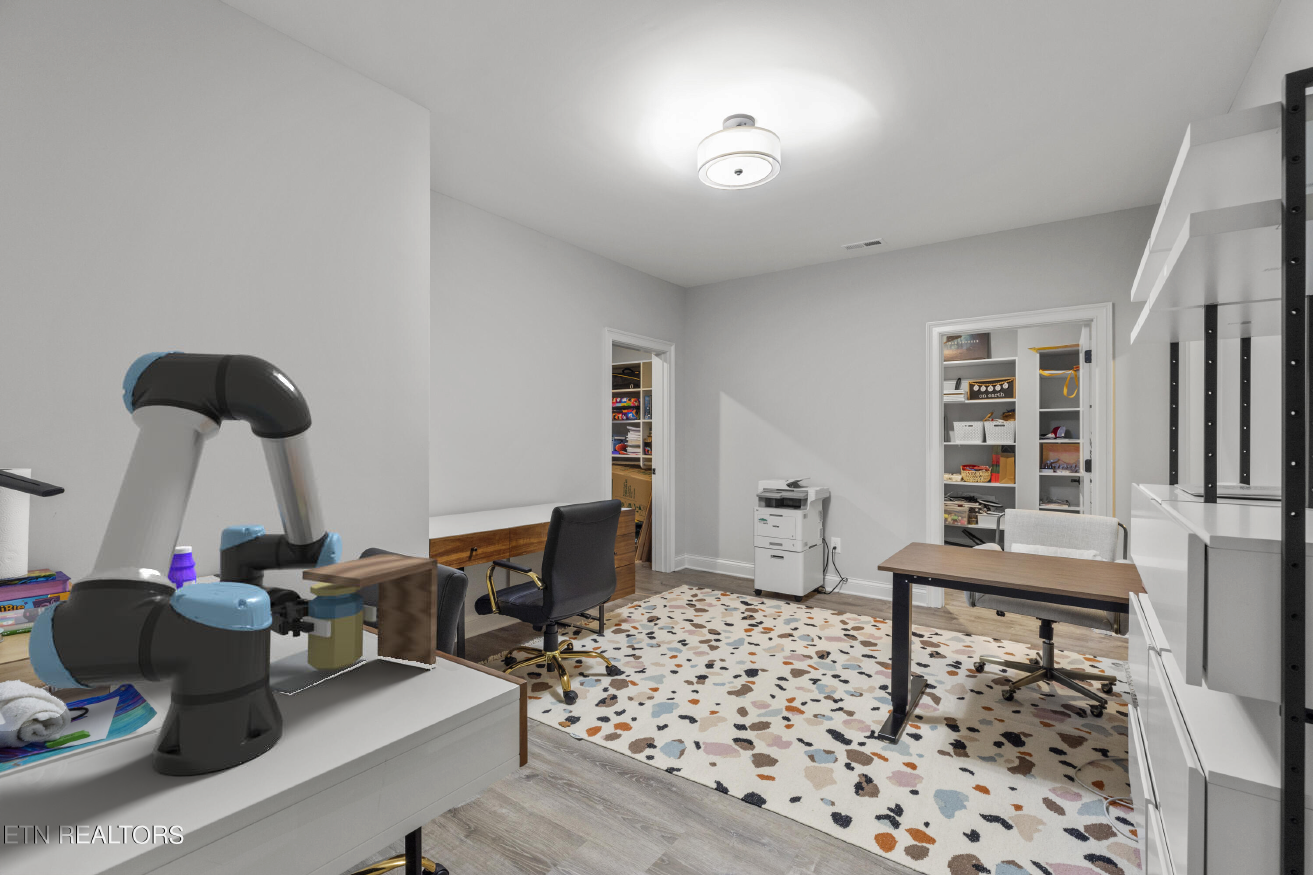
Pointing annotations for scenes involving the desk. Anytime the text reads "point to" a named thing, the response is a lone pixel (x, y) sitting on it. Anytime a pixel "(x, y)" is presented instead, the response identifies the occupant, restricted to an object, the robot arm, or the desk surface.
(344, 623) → the jar
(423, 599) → the shelf
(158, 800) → the desk surface
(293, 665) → the mat
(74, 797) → the desk surface
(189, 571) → the bottle
